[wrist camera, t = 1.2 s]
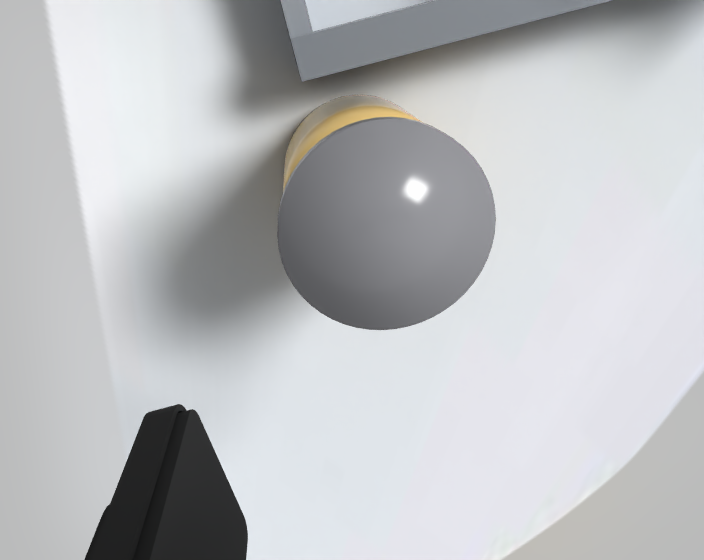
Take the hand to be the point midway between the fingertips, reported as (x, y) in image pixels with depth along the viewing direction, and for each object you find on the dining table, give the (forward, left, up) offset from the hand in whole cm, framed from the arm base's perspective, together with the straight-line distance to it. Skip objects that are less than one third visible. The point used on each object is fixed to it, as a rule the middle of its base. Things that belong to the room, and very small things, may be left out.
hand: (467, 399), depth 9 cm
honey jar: (0, 0, -16) cm, 16 cm away
